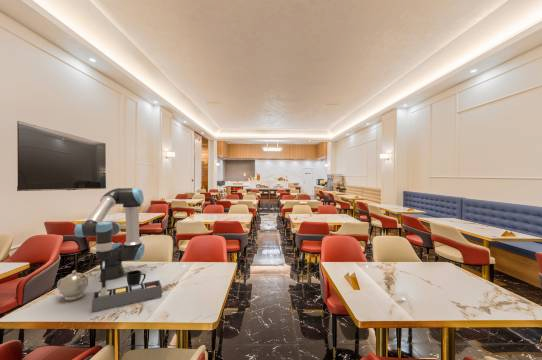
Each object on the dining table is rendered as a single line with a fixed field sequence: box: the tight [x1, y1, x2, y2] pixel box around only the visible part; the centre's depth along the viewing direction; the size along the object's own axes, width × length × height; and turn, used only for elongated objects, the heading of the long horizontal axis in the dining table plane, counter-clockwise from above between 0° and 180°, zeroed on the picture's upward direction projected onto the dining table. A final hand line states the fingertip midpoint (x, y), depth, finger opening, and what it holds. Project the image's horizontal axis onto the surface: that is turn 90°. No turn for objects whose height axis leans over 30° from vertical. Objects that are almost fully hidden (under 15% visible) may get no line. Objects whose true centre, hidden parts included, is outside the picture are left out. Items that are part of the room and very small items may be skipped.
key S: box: [131, 285, 142, 291], centre depth 148 cm, size 5×5×4 cm
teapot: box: [56, 269, 89, 302], centre depth 149 cm, size 18×14×16 cm
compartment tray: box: [91, 279, 163, 313], centre depth 146 cm, size 10×34×7 cm, turn 121°
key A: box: [98, 291, 109, 298], centre depth 139 cm, size 5×5×4 cm
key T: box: [116, 288, 126, 294], centre depth 144 cm, size 5×5×4 cm
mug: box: [126, 270, 147, 286], centre depth 164 cm, size 8×12×10 cm
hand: (103, 292), depth 139 cm, fingers closed
